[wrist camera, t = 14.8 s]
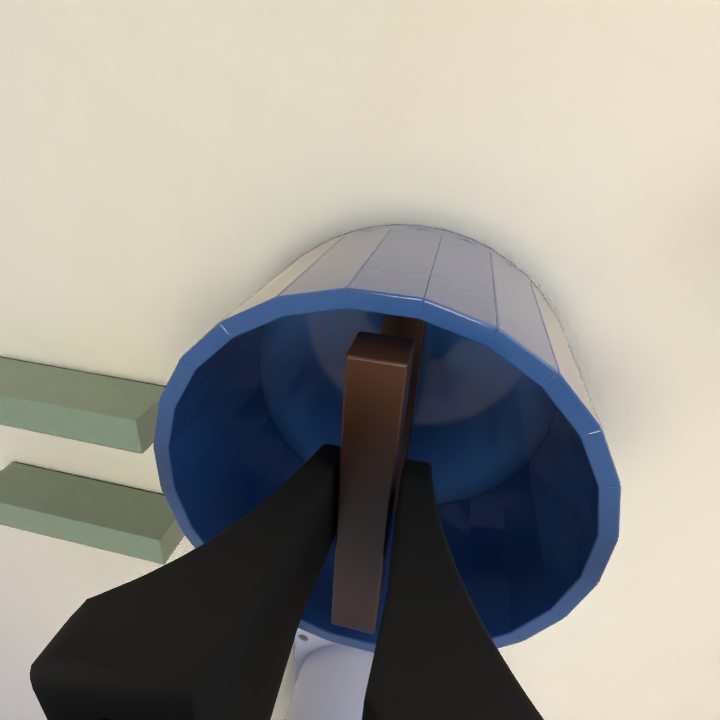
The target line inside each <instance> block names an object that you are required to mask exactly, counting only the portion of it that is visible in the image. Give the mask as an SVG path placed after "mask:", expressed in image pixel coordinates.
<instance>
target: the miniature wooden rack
mask: <svg viewBox="0 0 720 720" xmlns="http://www.w3.org/2000/svg"><path fill="white" fill-rule="evenodd" d="M164 389H165V387H163V386H158V385H152V384H147V383H141V382H135V381H130V380H124V379H119V378H113V377H108V376H102V375H96V374H91V373H85V372H80V371H74V370H69V369H63V368H57V367H52V366H46V365H41V364H35V363H29V362H24V361H18V360H13V359H7V358H2V357H0V425H5V426H10V427H15V428H20V429H25V430H29V431H34V432H39V433H44V434H49V435H54V436H59V437H63V438H68V439H73V440H78V441H83V442H88V443H92V444H97V445H102V446H107V447H112V448H117V449H122V450H126V451H131V452H136V453H141V454H142V453H144V452H145V451H146V450H147V449H148V448H149V447H150V446H151V445H152V444H153V442H154V435H155V427H156V419H157V412H158V404H159V401H160V397H161V395H162V393H163V391H164ZM0 524H1V525H5V526H9V527H13V528H17V529H21V530H25V531H29V532H34V533H38V534H42V535H46V536H50V537H54V538H58V539H62V540H66V541H70V542H74V543H78V544H82V545H86V546H90V547H94V548H99V549H103V550H107V551H111V552H115V553H119V554H123V555H127V556H131V557H135V558H139V559H143V560H147V561H151V562H155V563H160V564H165V563H166V561H167V560H168V559H169V557H170V556H171V554H172V553H173V551H174V550H175V548H176V547H177V546H178V544H179V543H180V541H181V540H182V538H183V537H184V536H185V534H184V533H183V532H182V531H181V528H180V527H179V525H178V523H177V521H176V519H175V517H174V515H173V513H172V511H171V508H170V506H169V504H168V502H167V500H166V498H165V496H164V495H160V494H156V493H151V492H147V491H142V490H138V489H133V488H129V487H124V486H120V485H115V484H110V483H106V482H101V481H97V480H92V479H88V478H83V477H79V476H74V475H70V474H65V473H60V472H56V471H51V470H47V469H42V468H38V467H33V466H29V465H24V464H20V463H15V462H12V463H11V464H10V465H8V466H7V467H6V468H4V469H3V470H2V471H0Z"/></svg>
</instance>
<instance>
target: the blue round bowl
mask: <svg viewBox="0 0 720 720" xmlns="http://www.w3.org/2000/svg"><path fill="white" fill-rule="evenodd" d="M383 314H388V315H395V316H402V317H409V318H417V319H420V320H423V321H425V322H427V326H426V333H425V340H424V347H423V354H422V361H421V369H420V376H419V383H418V390H417V397H416V404H415V412H414V419H413V426H412V433H411V440H410V447H409V454H408V459H410V460H416V461H421V462H426V463H429V464H430V465H431V467H432V481H433V488H434V494H435V499H436V503H437V508H438V512H439V515H440V519H441V522H442V526H443V530H444V533H445V536H446V539H447V542H448V545H449V548H450V550H451V553H452V556H453V559H454V561H455V564H456V567H457V569H458V571H459V574H460V576H461V579H462V581H463V583H464V585H465V588H466V590H467V592H468V594H469V596H470V598H471V600H472V602H473V605H474V607H475V609H476V611H477V613H478V615H479V616H480V618H481V620H482V622H483V624H484V626H485V627H486V629H487V631H488V633H489V635H490V636H491V638H492V640H493V642H494V644H495V645H496V647H497V648H501V647H505V646H508V645H512V644H515V643H519V642H522V641H524V640H526V639H528V638H530V637H532V636H533V635H535V634H537V633H539V632H540V631H542V630H544V629H546V628H548V627H549V626H551V625H553V624H555V623H557V622H558V621H560V620H562V619H564V617H566V616H567V615H568V614H569V613H570V612H571V611H572V610H573V609H574V608H575V607H576V606H577V605H578V604H579V603H580V602H581V601H582V600H583V599H584V598H585V597H586V596H587V595H588V594H589V593H590V592H591V590H592V589H593V588H594V587H595V586H596V585H597V583H598V582H599V581H600V579H601V576H602V574H603V572H604V570H605V568H606V565H607V563H608V561H609V559H610V556H611V554H612V552H613V550H614V548H615V545H616V543H617V541H618V537H619V523H620V499H621V485H620V480H619V477H618V474H617V471H616V468H615V465H614V462H613V459H612V456H611V453H610V450H609V447H608V444H607V441H606V438H605V435H604V432H603V429H602V427H601V424H600V422H599V419H598V417H597V414H596V412H595V409H594V407H593V404H592V402H591V399H590V397H589V394H588V392H587V389H586V387H585V384H584V382H583V379H582V377H581V374H580V372H579V369H578V367H577V364H576V362H575V359H574V357H573V354H572V352H571V349H570V347H569V344H568V342H567V339H566V337H565V334H564V332H563V329H562V327H561V324H560V322H559V320H558V318H557V316H556V315H555V314H554V312H553V310H552V309H551V307H550V306H549V304H548V302H547V301H546V299H545V298H544V296H543V294H542V293H541V292H540V291H539V290H538V289H537V287H536V286H535V285H534V284H533V283H532V282H531V280H530V279H529V278H528V277H527V276H526V275H525V274H524V273H522V272H521V271H520V270H519V269H518V268H517V267H516V266H514V265H513V264H512V263H511V262H510V261H508V260H507V259H505V258H504V257H502V256H501V255H499V254H498V253H496V252H495V251H493V250H492V249H490V248H488V247H486V246H484V245H482V244H480V243H478V242H476V241H474V240H471V239H469V238H467V237H464V236H461V235H458V234H455V233H452V232H448V231H445V230H441V229H435V228H430V227H424V226H414V225H387V226H377V227H370V228H365V229H361V230H357V231H353V232H349V233H346V234H344V235H341V236H339V237H336V238H334V239H331V240H329V241H327V242H325V243H323V244H322V245H320V246H318V247H316V248H315V249H313V250H311V251H309V252H307V253H305V254H304V255H302V256H301V257H300V258H299V259H297V260H296V261H295V262H294V263H293V264H291V265H290V266H289V267H288V268H286V269H285V270H284V271H283V272H281V273H280V274H279V275H278V276H276V277H275V278H274V279H273V280H271V281H270V282H269V283H268V284H266V285H265V286H264V287H263V288H261V289H260V290H259V291H258V292H256V293H255V294H254V295H253V296H251V297H250V298H249V299H248V300H246V301H245V302H244V303H243V304H241V305H240V306H239V307H238V308H236V309H235V310H234V311H233V312H231V313H230V314H229V315H228V316H226V317H225V318H224V319H223V320H221V321H220V322H219V323H218V324H217V325H216V326H215V327H213V328H212V329H211V330H210V331H209V332H208V333H207V334H206V335H205V336H204V337H203V338H201V339H200V340H199V341H198V342H197V343H196V344H195V345H194V346H193V347H192V348H191V349H189V350H188V351H187V352H186V353H185V354H184V355H183V356H182V358H181V359H180V360H179V362H178V364H177V366H176V368H175V370H174V372H173V374H172V376H171V378H170V380H169V382H168V384H167V385H166V387H165V389H164V391H163V393H162V395H161V397H160V401H159V404H158V412H157V419H156V427H155V435H154V442H153V444H154V446H153V447H154V452H155V458H156V463H157V469H158V474H159V480H160V485H161V488H162V491H163V494H164V496H165V498H166V500H167V502H168V504H169V506H170V508H171V511H172V513H173V515H174V517H175V519H176V521H177V523H178V525H179V527H180V528H181V531H182V532H183V533H184V534H185V536H186V537H187V538H188V540H189V541H190V542H191V544H192V545H193V546H194V547H195V549H196V548H197V547H199V546H201V545H202V544H204V543H205V542H207V541H209V540H210V539H212V538H213V537H215V536H217V535H218V534H220V533H221V532H223V531H224V530H226V529H227V528H229V527H230V526H232V525H233V524H234V523H236V522H237V521H239V520H240V519H241V518H243V517H244V516H245V515H247V514H248V513H249V512H251V511H252V510H253V509H254V508H256V507H257V506H258V505H259V504H260V503H262V502H263V501H264V500H265V499H267V498H268V497H269V496H270V495H271V494H273V493H274V492H275V491H276V490H277V489H278V488H279V487H281V486H282V485H283V484H284V483H285V482H286V481H287V480H288V479H289V478H290V477H291V476H292V475H294V474H295V473H296V472H297V471H298V470H299V469H300V468H301V467H302V466H303V465H304V464H305V463H306V462H307V461H308V460H309V459H310V458H311V457H312V456H313V455H314V453H315V452H316V451H317V450H318V449H319V448H320V447H321V446H322V445H324V444H325V443H326V444H331V445H336V446H340V445H341V426H342V407H343V388H344V369H345V356H346V354H347V352H348V350H349V349H350V347H351V345H352V343H353V341H354V339H355V338H356V336H357V334H358V332H360V331H363V332H370V333H376V334H381V331H382V320H383ZM395 518H396V509H394V510H393V518H392V525H391V533H390V541H389V549H388V556H387V564H386V572H385V580H384V587H383V595H382V601H381V606H380V611H379V616H378V621H377V626H376V631H375V633H374V634H369V633H365V632H362V631H358V630H354V629H350V628H346V627H342V626H338V625H334V624H332V623H331V616H332V597H333V578H334V559H335V540H336V533H335V537H334V540H333V542H332V545H331V547H330V550H329V552H328V554H327V557H326V559H325V562H324V564H323V567H322V569H321V572H320V574H319V576H318V579H317V581H316V584H315V586H314V589H313V591H312V593H311V596H310V598H309V601H308V603H307V606H306V608H305V610H304V613H303V616H302V618H301V621H300V624H299V626H298V628H299V629H302V630H304V631H306V632H308V633H311V634H313V635H315V636H318V637H320V638H322V639H325V640H327V641H330V642H334V643H338V644H341V645H345V646H349V647H353V648H357V649H361V650H365V651H368V652H372V653H374V651H375V647H376V642H377V637H378V633H379V628H380V623H381V618H382V613H383V609H384V604H385V599H386V594H387V589H388V579H389V568H390V557H391V548H392V540H393V533H394V525H395Z"/></svg>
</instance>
